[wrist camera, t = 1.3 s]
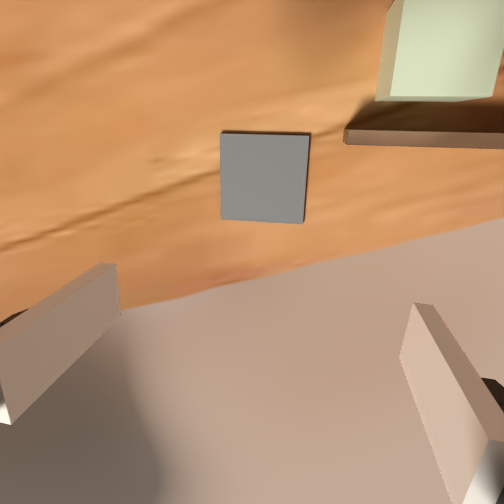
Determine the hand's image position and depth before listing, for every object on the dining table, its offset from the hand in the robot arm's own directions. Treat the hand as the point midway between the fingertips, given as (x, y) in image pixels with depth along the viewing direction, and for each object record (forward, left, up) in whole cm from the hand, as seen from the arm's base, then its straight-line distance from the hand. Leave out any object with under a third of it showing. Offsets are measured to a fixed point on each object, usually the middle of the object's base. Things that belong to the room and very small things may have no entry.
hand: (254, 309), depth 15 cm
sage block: (-13, +11, -23) cm, 29 cm away
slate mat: (-2, -3, -23) cm, 23 cm away
